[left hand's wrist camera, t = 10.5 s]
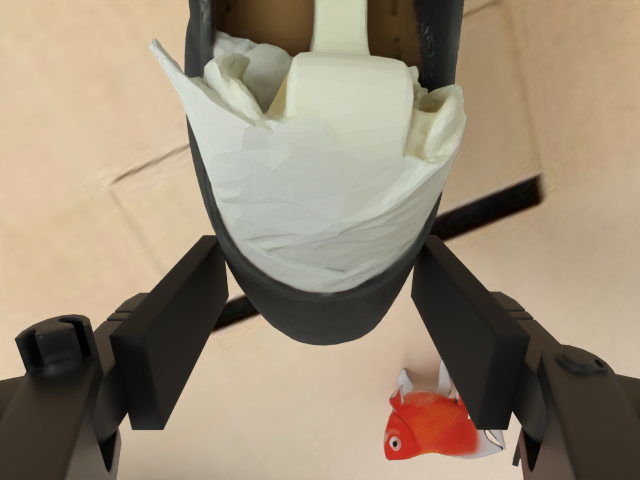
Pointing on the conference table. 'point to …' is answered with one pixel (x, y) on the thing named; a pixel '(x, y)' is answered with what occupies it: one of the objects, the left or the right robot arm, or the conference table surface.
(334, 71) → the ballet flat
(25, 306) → the conference table surface
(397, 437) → the fish
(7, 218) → the conference table surface
